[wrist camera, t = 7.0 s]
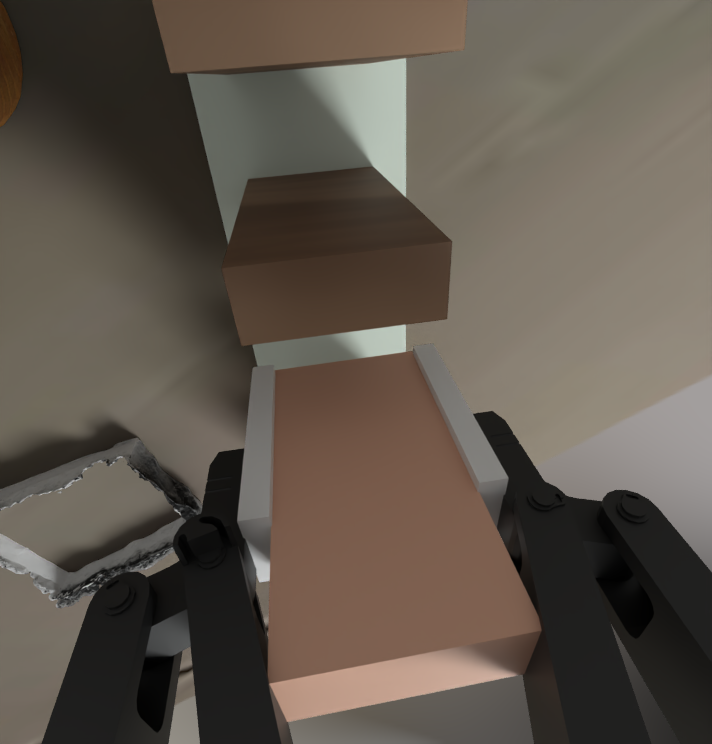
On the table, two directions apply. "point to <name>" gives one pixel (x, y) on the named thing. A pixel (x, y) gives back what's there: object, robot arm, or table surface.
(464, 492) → the domino
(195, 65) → the domino
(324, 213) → the domino
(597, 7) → the table surface
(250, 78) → the runner
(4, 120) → the disposable coffee cup
